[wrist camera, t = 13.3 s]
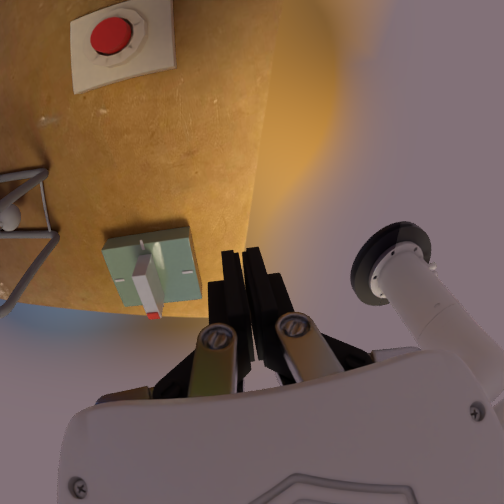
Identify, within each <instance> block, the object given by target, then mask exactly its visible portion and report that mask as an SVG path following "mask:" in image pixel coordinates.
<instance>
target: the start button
mask: <svg viewBox="0 0 504 504" xmlns="http://www.w3.org/2000/svg"><path fill="white" fill-rule="evenodd" d="M130 37H131V27H130V26H129V24H128V23H126V22H125V21H124V20H123V19H121V18H118V17H111V18H107V19H105V20H103V21H101V22H100V23H99V24H98V25H97V26H96V27H95V28H94V30H93V31H92V34H91V37H90V43H91V46H92V47H93V48H94V49H95V50H96V51H99V52H102V53H106V54H111V53H115V52H117V51H119V50H121V49H122V48H123V47H125V46H126V44H127V43H128V42H129V40H130Z"/></svg>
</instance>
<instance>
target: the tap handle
mask: <svg viewBox="0 0 504 504" xmlns="http://www.w3.org/2000/svg"><path fill="white" fill-rule="evenodd" d="M132 279H133V282H134V284H135V287H136V290H137V292H138V295H139V297H140V299H141V302H142V304H143V307H144V309H145V311H146V314H147V316H148V318H149V319H160V318H161V317H162V310H163V303H164V297H165V295H164V292H163V289H162V286H161V283H160V279H159V276H158V273H157V270H156V267H155V263H154V260H153V257H152V254H146V255H139V257H138V259H137V262H136V265H135V268H134V271H133V274H132Z"/></svg>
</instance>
